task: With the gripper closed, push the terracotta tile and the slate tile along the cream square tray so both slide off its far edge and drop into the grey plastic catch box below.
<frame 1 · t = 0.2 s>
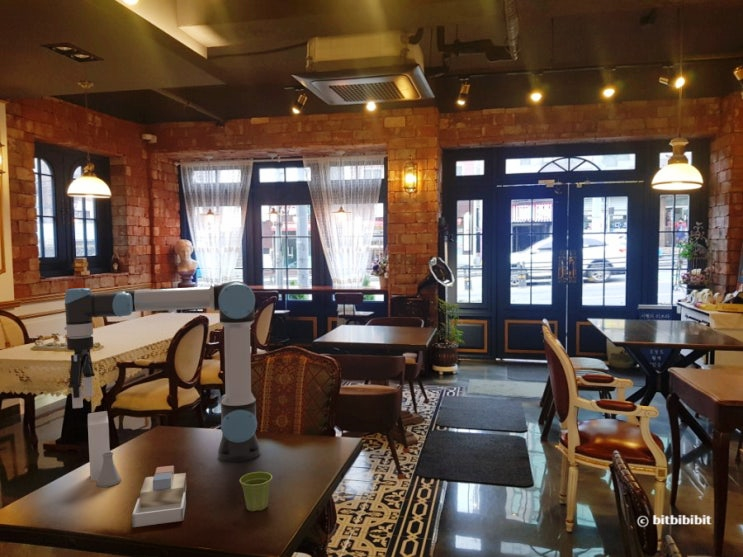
hand: (83, 402, 179), 28 cm above the table, tool pointing down, fingers open, 13 cm apart
cream square tray: (164, 498, 170), on the table
terracotta tile: (164, 478, 173), point 5 cm above the table, touching cream square tray
slate tile: (163, 485, 167), point 5 cm above the table, touching cream square tray
plant pot: (256, 507, 163), on the table
flask: (109, 483, 183), on the table
catch box: (160, 515, 159), on the table
milk: (100, 476, 188), on the table
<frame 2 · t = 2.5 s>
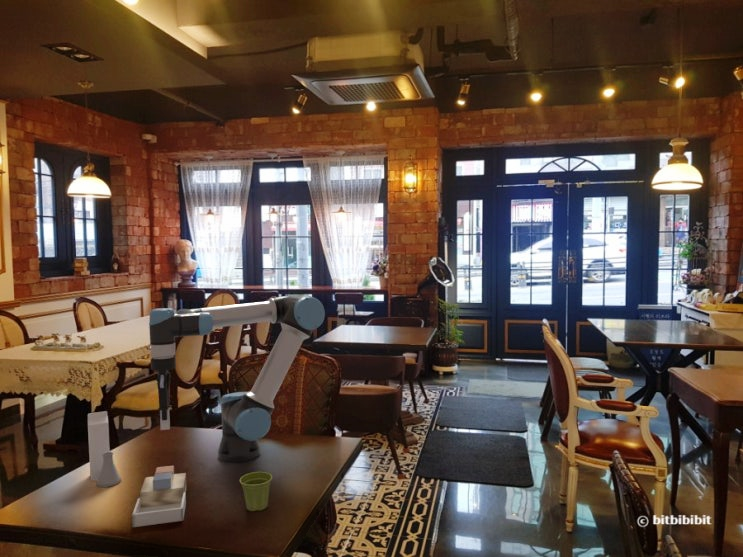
hand: (165, 429, 180), 18 cm above the table, tool pointing down, fingers closed
nothing on the table moved.
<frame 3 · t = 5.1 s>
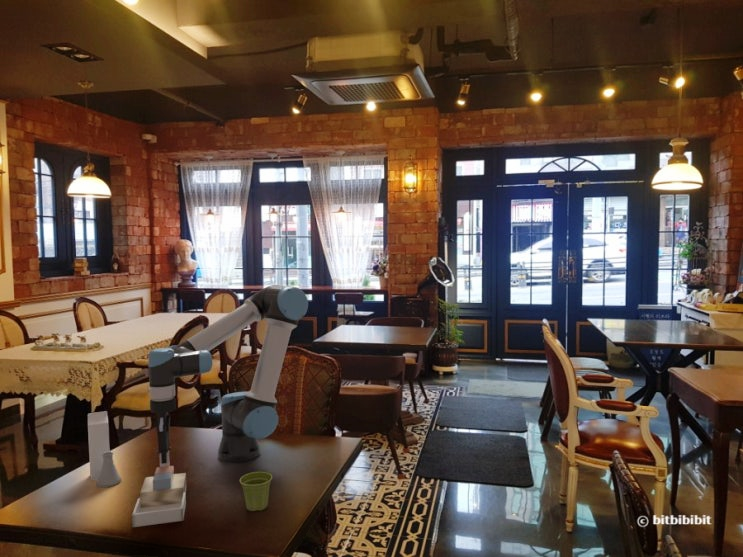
hand: (164, 471, 175), 6 cm above the table, tool pointing down, fingers closed
terracotta tile: (164, 479, 172), point 5 cm above the table, touching gripper
everything else where it was.
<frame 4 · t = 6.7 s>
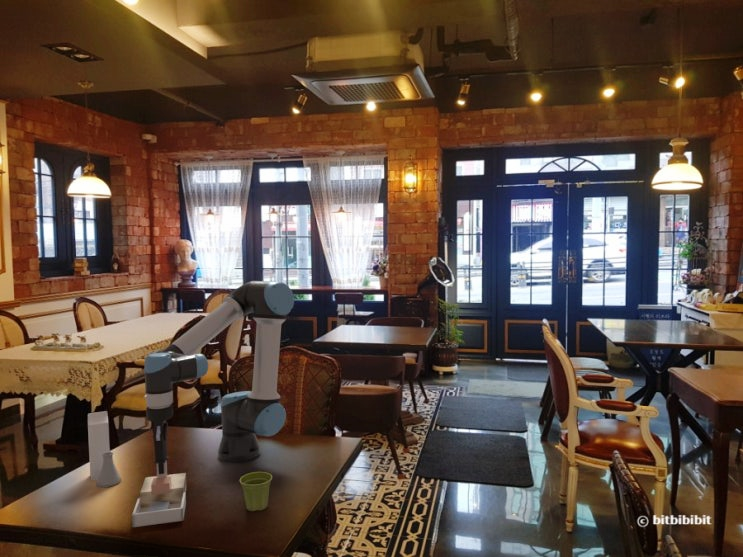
hand: (162, 482, 167), 6 cm above the table, tool pointing down, fingers closed
terracotta tile: (161, 490, 164), point 5 cm above the table, touching cream square tray, gripper
slate tile: (159, 506, 157), point 3 cm above the table, tilted 180°, touching catch box
everything else where it was.
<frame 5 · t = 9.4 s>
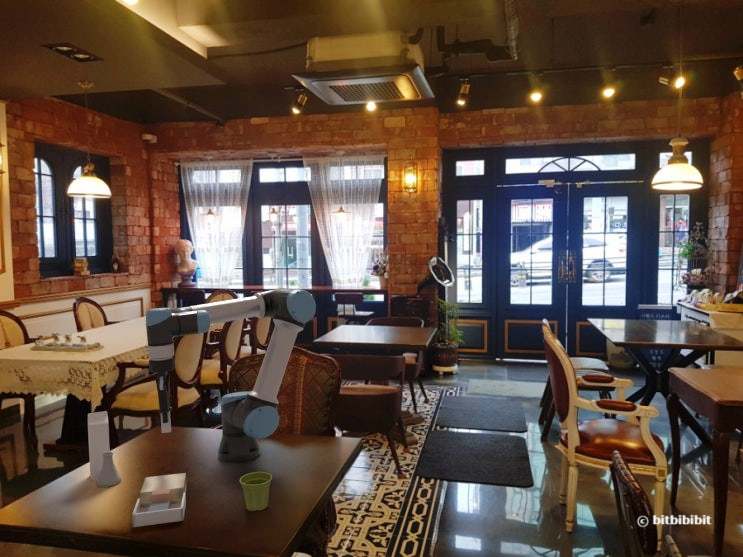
hand: (166, 431, 175), 19 cm above the table, tool pointing down, fingers closed
terracotta tile: (162, 498, 164), point 3 cm above the table, tilted 90°, touching catch box
everything else where it was.
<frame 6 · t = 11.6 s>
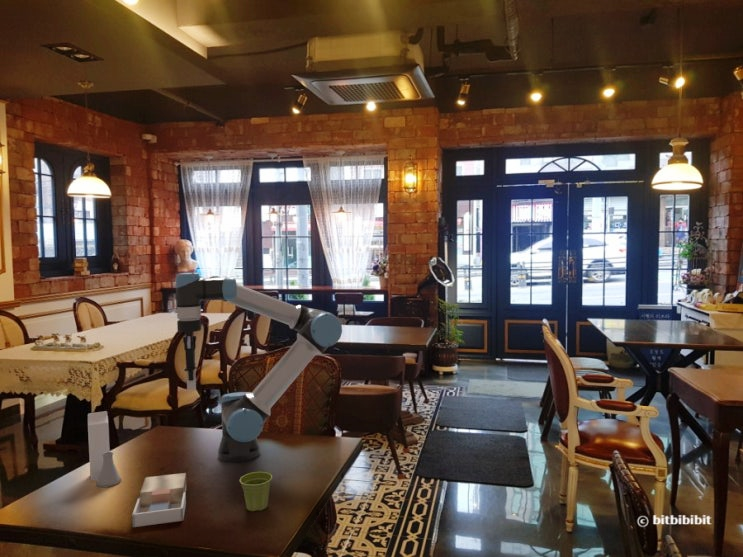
hand: (191, 389, 186), 29 cm above the table, tool pointing down, fingers closed
nothing on the table moved.
at the end: terracotta tile inside the target area on the catch box (5.3 cm from its centre), point 3.0 cm above the catch box's base; slate tile inside the target area on the catch box (1.5 cm from its centre), point 3.5 cm above the catch box's base; terracotta tile point 3.0 cm above the table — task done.
